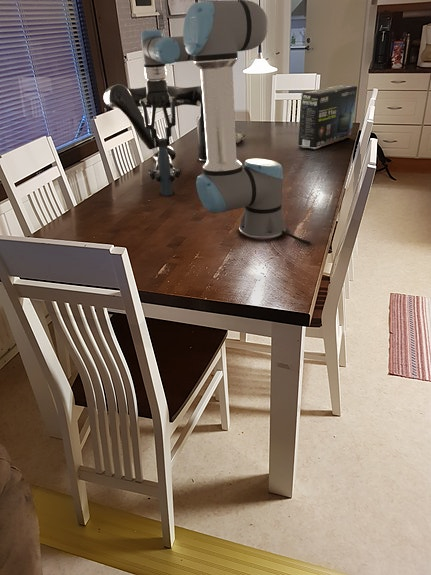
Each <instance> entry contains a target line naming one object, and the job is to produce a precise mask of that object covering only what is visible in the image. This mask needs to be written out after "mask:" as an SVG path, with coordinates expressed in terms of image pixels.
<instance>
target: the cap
mask: <svg viewBox="0 0 431 575" xmlns="http://www.w3.org/2000/svg"><path fill="white" fill-rule="evenodd" d="M157 143H158V148H159V147H166V146H167V139H166V137H165V138H163V137H160V139H157Z"/></svg>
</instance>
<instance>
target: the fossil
mask: <svg viewBox="0 0 431 575" xmlns="http://www.w3.org/2000/svg"><path fill="white" fill-rule="evenodd" d="M235 132H236V143H237V144H239V143H240V142H241V141H242V140H243V139H242V138H243V137H245V136H246V132H244V131H242V130H237V129H235ZM246 137H247V136H246ZM246 137H245V138H246ZM238 142H239V143H238Z"/></svg>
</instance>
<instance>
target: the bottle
mask: <svg viewBox="0 0 431 575" xmlns="http://www.w3.org/2000/svg"><path fill="white" fill-rule="evenodd" d="M157 151H159V152H158V157H157V158H158V159H157V160H158V170H159V180H160V182H159V188H160V195H161V196H164V197H166V196H172V195H173V194H174V193H173V183H172V182H173V181H172V180H171V168H170V158H169V154H168V151H167V149H166V147H158V150H157Z"/></svg>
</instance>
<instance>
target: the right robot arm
mask: <svg viewBox="0 0 431 575" xmlns="http://www.w3.org/2000/svg"><path fill="white" fill-rule="evenodd" d="M182 28H183V30H182V32H183V33H182V36H181V35H179V36H168V37H167V36H164V34H163V31H162V29H147V30H142V31H141V34H140V40H141V41H140V44H141V49H142V50H141V52H142V59H143V69H144V78H145V80H146V81H145V87H146V89H147V95H146V98H144V99H143V100H140V104H141V105H142V107H141V108H142V115H143V116H144V123H145V127H146V128H147V129H150V131H151V137H152V139H153V138H154V143H155V147H156V148H155V149H157V148H158V149H159V147H158V143H157V135H158V134H157V129H156V128H155V125H156V124H155V123H156V111H157V109H159V108H158V107H162V108H161V110H162V114H163V117H164V120H165V124H166V126H165V127H164V130H165V131H164V132H165V139H167V146H170V147H171V144H170V143H171V142H170V138H171V137H172V134H173V133H172V128H173V127H175V126H176V124H177V123H176V120H177V119H176V107H175V103H176V98H175V97H171V96H169V94H168V90H167V86H168V81H167V68H166V65H170V64H171V65H172V64H175V63H183V62H184V63H185V62H192V61H193V63H194V65H195V66H197V67H198V69H199V72H200V86H202V99H203V112H204V125H205V139H206V152H207V162H205V163H204V164H203V165H202V173H201V174H200V175H198V176H197V178H196V181H195V182H196V183H195V184H196V192H197V195H198V198H199V200H200V202H201V204H202V205H203V207H204V209H205V210H207V211H208V212H209V213H211V214H219V213H226V212H228V211H232V210H237V209H242V208H244V211H243V213H242V216H241V220H240V222H239V225H238V232H239V235H240V236H241V237H242V238H244V239H247V240H250V241H254V242H271V241H277V240H279V239H281V238H283V237H285V235H286V236H288V237H290V238H292V239H293V240H296V241H297V242H300V243H303V244H307V245H310V244H311V241H310V240H307V239H303V238H300V237H298V236H296V235H294V234H292V233H290V232H288V231H287V223H286V221H285V216H284V214H283V210H282V200H283V181H284V172H283V171H284V169H283V166H282V164H280V162H277V161H275V160H270V159H265V158H248V159H246V160H245V161H244V163H242V162H241V161H240V160H239V159H238V158H237V157H238V156H237V144H236V132H235V130H236V114H235V94H234V92H235V91H234V90H235V89H234V71H233V67H234V65H235V64H236V62H238V60H239V56H238V52H245V51H250V50H254V49H256V48H257V47H259V46H260V45H261V44H262V43H264V41H265V40H266V37H267V35H268V32H269V20H268V16H267V14H266V12H265V10H264V9H263V8H262V6H260V5H259V4H258V3H256V2H254V1H252V0H205V1H197V2H194V3H192V4H191V5H190V6H189V8H188V9H187V11H186V15H185V16H184V21H183V27H182ZM168 99H169V101H170V103H171V108H170V117H169V114H168V110H167V109H168V108H166V103H167V101H168ZM147 101H148V102H149V103H150V104H151V108H150V120H149V116H148V110H147V108H146V105H147Z"/></svg>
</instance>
